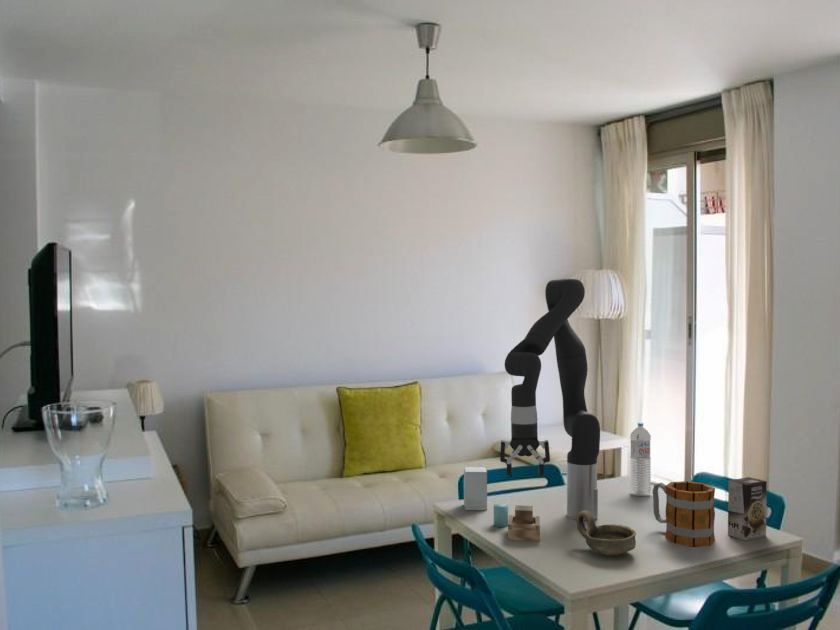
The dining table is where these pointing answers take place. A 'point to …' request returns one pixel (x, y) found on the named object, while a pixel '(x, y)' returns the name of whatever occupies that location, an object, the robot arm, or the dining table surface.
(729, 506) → the coffee box
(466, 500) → the supplement box
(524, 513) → the walnut block
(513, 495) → the dining table surface
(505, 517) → the teal cylinder
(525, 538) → the oak base
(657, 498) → the mug
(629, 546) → the bowl
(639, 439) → the water bottle
